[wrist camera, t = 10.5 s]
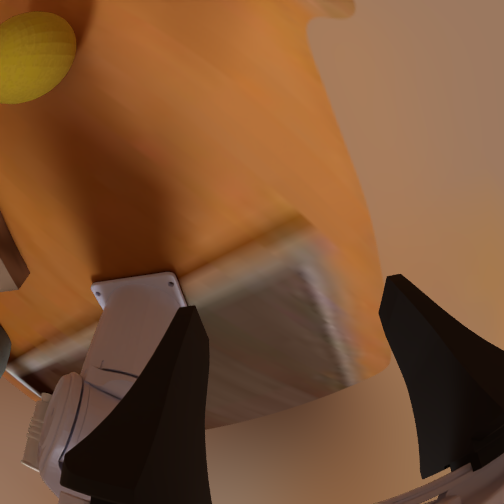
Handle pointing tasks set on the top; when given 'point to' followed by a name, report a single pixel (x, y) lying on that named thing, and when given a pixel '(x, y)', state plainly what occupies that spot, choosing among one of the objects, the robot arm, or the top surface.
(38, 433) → the stack of cups
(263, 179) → the top surface
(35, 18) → the lemon
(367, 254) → the top surface
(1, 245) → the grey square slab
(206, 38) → the top surface
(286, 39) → the top surface
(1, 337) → the bottle
